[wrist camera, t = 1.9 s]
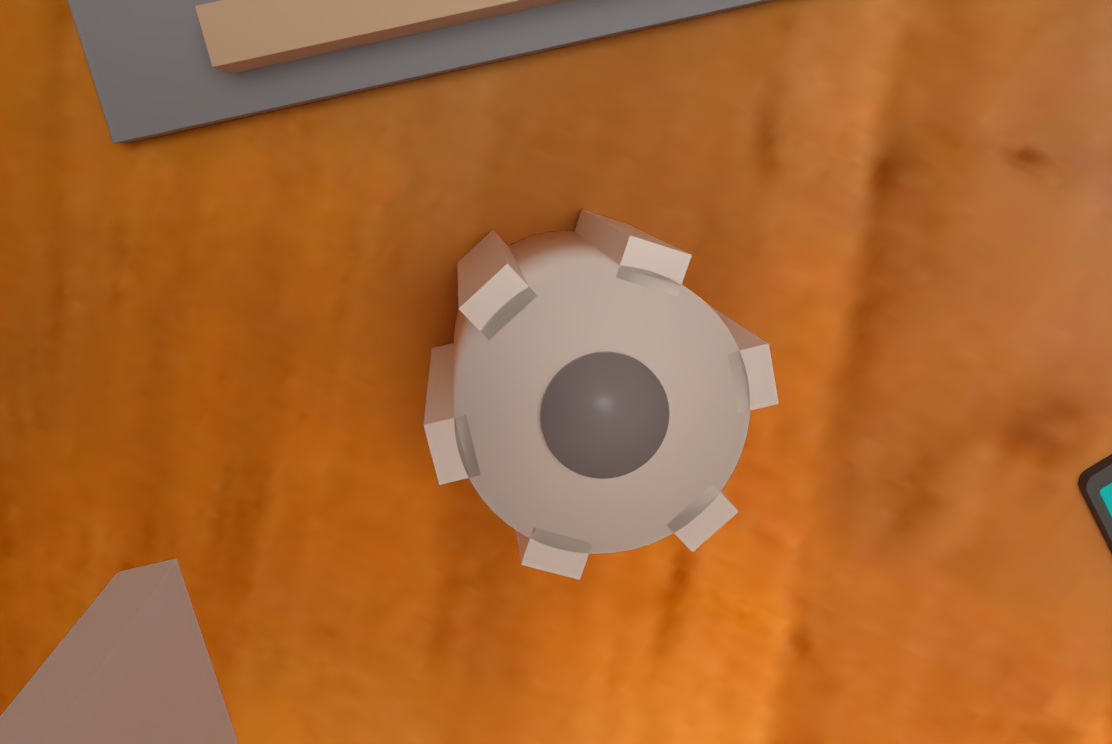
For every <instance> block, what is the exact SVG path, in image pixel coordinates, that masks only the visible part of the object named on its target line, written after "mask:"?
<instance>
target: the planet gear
mask: <svg viewBox="0 0 1112 744" xmlns="http://www.w3.org/2000/svg"><path fill="white" fill-rule="evenodd" d="M691 256H692V255H691V254H689V253H687V252H685V251H682V250H680V249H678V248H676V247H674V246H672V245H670V244H668V243H666V242H664V241H662V240H660V239H658V238H656V237H653V236H651V235H649V234H647V233H645V232H643V231H641V230H639V229H637V228H635V227H633V226H631V225H629V224H626V223H623V222H620V221H617V220H614V219H611V218H608V217H604V216H601V215H598V214H595V213H592V212H589V211H586V210H583V209H581V213H580V216H579V219H578V222H577V225H576V228H575V231H552V232H546V233H540V234H537V235H533V236H530V237H527V238H524V239H522V240H520V241H518V242H515V243H513V244H511V245H510V246H508V245H507V244H506V243H505V242H504V241H503V240H502V239H501V238H500V237H499V236H498V235H497V234H496V232H495V231H494V230H492V231H491V232H489V233H488V234H487V235H486V236H485V237H484V238H483V239H482V240H481V241H480V242H479V243H478V244H477V245H476V246H474V247H473V248H472V249H471V250H470V251H469V252H468V253H467V254H466V255H465V256H464V257H463V258H462V259H461V260H459V261H458V262H457V269H458V307H459V309H458V313H457V317H456V322H455V329H454V343H451V344H447V345H443V346H438V347H434V348H432V351H431V360H430V369H429V379H428V388H427V397H426V407H425V416H424V429H425V433H426V437H427V440H428V444H429V448H430V452H431V456H432V460H433V463H434V467H435V471H436V475H437V479H438V483H439V485H442V484H446V483H450V482H454V481H458V480H462V479H467V478H469V479H470V481H471V483H472V485H473V486H474V488H475V489H476V491H477V492H478V494H479V495H480V497H481V498H482V500H483V501H484V502H485V503H486V504H487V505H488V506H489V507H490V509H491V510H492V511H493V512H494V513H495V514H496V515H497V516H498V517H500V518H501V519H502V520H503V521H504V522H505V523H507V524H508V525H509V526H511V527H512V528H514V529H515V530H516V536H517V542H518V549H519V555H520V561H521V565H524V566H527V567H531V568H535V569H539V570H543V571H547V572H551V573H555V574H559V575H563V576H567V577H570V578H574V579H578V580H580V578H581V576H582V573H583V570H584V567H585V564H586V561H587V558H588V555H589V554H604V553H617V552H622V551H628V550H633V549H636V548H639V547H643V546H646V545H649V544H652V543H654V542H656V541H659V540H661V539H663V538H665V537H668V536H669V535H671V534H673V533H674V534H675V535H676V536H677V537H678V538H679V539H680V540H681V541H682V542H683V543H684V544H685V545H686V546H687V547H688V548H689V549H690V550H691V551H692V552H693V551H695V550H696V549H697V548H698V547H699V546H700V545H701V544H703V543H704V542H705V541H706V540H707V539H708V538H709V537H710V536H712V535H713V534H714V533H715V532H716V531H717V530H718V529H720V528H721V527H722V526H723V525H724V524H725V523H726V522H728V521H729V520H730V519H731V518H732V517H733V516H734V515H736V514H737V513H738V510H737V509H736V508H735V506H734V505H733V504H732V502H731V501H730V500H729V498H728V497H727V496H726V495H725V493H724V492H723V491H722V489H723V488H724V486H725V485H726V483H727V481H728V480H729V478H730V476H731V475H732V473H733V471H734V469H735V467H736V465H737V462H738V460H739V458H740V456H741V453H742V450H743V447H744V443H745V440H746V436H747V431H748V425H749V419H750V411H751V410H755V409H759V408H763V407H767V406H771V405H776V404H779V402H778V396H777V390H776V384H775V378H774V372H773V366H772V360H771V354H770V348H769V343H767V342H766V341H764V340H763V339H761V338H759V337H758V336H756V335H755V334H753V333H752V332H750V331H749V330H747V329H746V328H744V327H742V326H741V325H739V324H738V323H736V322H735V321H733V320H732V319H730V318H729V317H727V316H725V315H724V314H722V313H721V312H719V311H718V310H716V309H715V308H713V307H711V306H710V305H708V304H707V303H706V302H705V301H704V300H703V299H701V298H700V297H699V296H697V295H696V294H695V293H693V292H692V291H691V290H689V289H688V288H687V287H685V286H683V285H682V282H683V279H684V276H685V273H686V270H687V267H688V264H689V262H690V259H691Z"/></svg>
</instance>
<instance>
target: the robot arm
mask: <svg viewBox="0 0 1112 744" xmlns="http://www.w3.org/2000/svg"><path fill="white" fill-rule="evenodd" d="M0 744H238V740H237V737H236V734H235V731H234V728H233V725H232V722H231V719H230V716H229V713H228V710H227V707H226V704H225V701H224V698H223V696H222V693H221V690H220V687H219V684H218V681H217V678H216V675H215V672H214V669H213V666H212V663H211V660H210V657H209V654H208V651H207V648H206V645H205V642H204V639H203V636H202V633H201V630H200V627H199V624H198V621H197V618H196V615H195V612H194V609H193V606H192V603H191V600H190V597H189V594H188V591H187V588H186V585H185V582H184V579H183V576H182V573H181V570H180V567H179V564H178V561H177V558H175V559H171V560H167V561H162V562H158V563H154V564H150V565H145V566H141V567H137V568H133V569H128V570H124V571H120V572H117V573H116V574H115V576H114V577H113V578H112V579H111V580H110V582H109V583H108V584H107V585H106V587H105V588H104V589H103V590H102V592H101V593H100V594H99V595H98V596H97V598H96V599H95V600H94V601H93V603H92V604H91V605H90V606H89V608H88V609H87V610H86V611H85V612H84V614H83V615H82V616H81V617H80V619H79V620H78V621H77V622H76V623H75V625H74V626H73V627H72V628H71V630H70V631H69V632H68V633H67V635H66V636H65V637H64V638H63V639H62V641H61V642H60V643H59V644H58V646H57V647H56V648H55V649H54V650H53V652H52V653H51V654H50V655H49V657H48V658H47V659H46V660H45V662H44V663H43V664H42V665H41V666H40V668H39V669H38V670H37V671H36V673H35V674H34V675H33V676H32V678H31V679H30V680H29V681H28V682H27V684H26V685H25V686H24V687H23V689H22V690H21V691H20V692H19V693H18V695H17V696H16V697H15V698H14V700H13V701H12V702H11V703H10V705H9V706H8V707H7V708H6V709H5V711H4V712H3V713H2V714H1V716H0Z"/></svg>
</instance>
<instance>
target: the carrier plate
mask: <svg viewBox="0 0 1112 744" xmlns="http://www.w3.org/2000/svg"><path fill="white" fill-rule="evenodd" d="M771 1H775V0H68V3H69V6H70V9H71V12H72V15H73V18H74V22H75V25H76V28H77V31H78V34H79V37H80V40H81V44H82V47H83V50H84V53H85V56H86V59H87V62H88V66H89V69H90V72H91V75H92V78H93V81H94V84H95V88H96V91H97V94H98V97H99V100H100V103H101V106H102V109H103V113H104V116H105V119H106V122H107V125H108V128H109V131H110V135H111V138H112V141H113V143H129V142H134V141H138V140H143V139H148V138H152V137H157V136H161V135H166V134H170V133H175V132H179V131H184V130H188V129H193V128H198V127H202V126H207V125H211V124H216V123H220V122H225V121H229V120H234V119H239V118H243V117H248V116H252V115H257V114H261V113H266V112H270V111H275V110H279V109H284V108H289V107H293V106H298V105H302V104H307V103H311V102H316V101H320V100H325V99H329V98H334V97H339V96H343V95H348V94H352V93H357V92H361V91H366V90H370V89H375V88H380V87H384V86H389V85H393V84H398V83H402V82H407V81H411V80H416V79H420V78H425V77H430V76H434V75H439V74H443V73H448V72H452V71H457V70H461V69H466V68H470V67H475V66H480V65H484V64H489V63H493V62H498V61H502V60H507V59H511V58H516V57H521V56H525V55H530V54H534V53H539V52H543V51H548V50H552V49H557V48H561V47H566V46H571V45H575V44H580V43H584V42H589V41H593V40H598V39H602V38H607V37H611V36H616V35H621V34H625V33H630V32H634V31H639V30H643V29H648V28H652V27H657V26H662V25H666V24H671V23H675V22H680V21H684V20H689V19H693V18H698V17H702V16H707V15H712V14H716V13H721V12H725V11H730V10H734V9H739V8H743V7H748V6H752V5H757V4H762V3H766V2H771Z"/></svg>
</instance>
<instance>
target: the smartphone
mask: <svg viewBox="0 0 1112 744" xmlns="http://www.w3.org/2000/svg"><path fill="white" fill-rule="evenodd" d="M1078 485H1079V488H1080V490H1081V492H1082V494H1083V496H1084V498H1085V500H1086V502H1087V504H1088V506H1089V508H1090V510H1091V512H1092V514H1093V516H1094V518H1095V520H1096V522H1097V524H1098V526H1099V528H1100V530H1101V532H1102V534H1103V536H1104V538H1105V540H1106V542H1107V544H1108V546H1109V548H1110V550H1111V552H1112V454H1111V455H1110V456H1108V457H1106V458H1105V459H1103V460H1101V461H1100V462H1098V463H1097V464H1095V465H1093V466H1092V467H1090V468H1088V469H1087V470H1085V471H1084V472H1083V473H1082V474H1081V475H1080V477H1079V481H1078Z"/></svg>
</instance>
